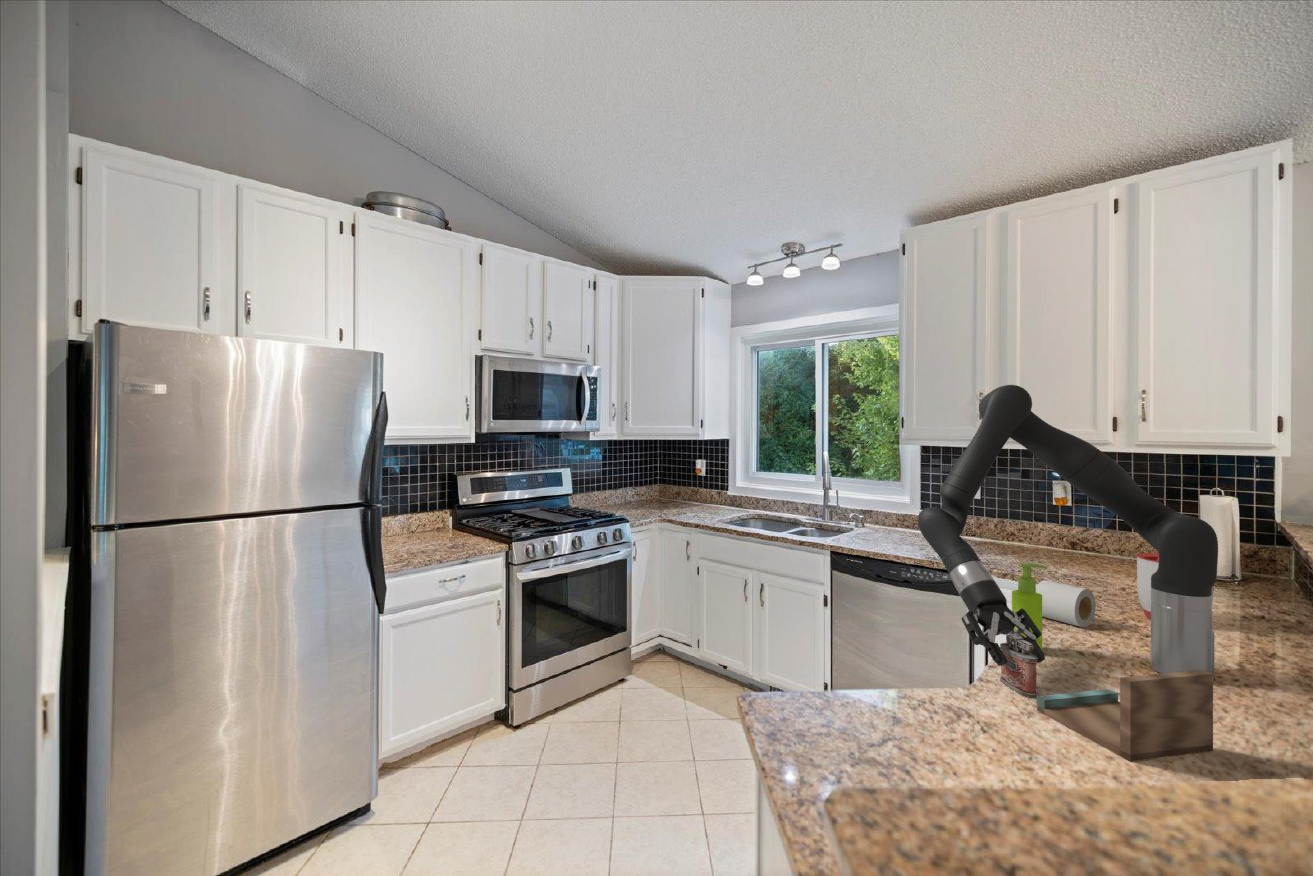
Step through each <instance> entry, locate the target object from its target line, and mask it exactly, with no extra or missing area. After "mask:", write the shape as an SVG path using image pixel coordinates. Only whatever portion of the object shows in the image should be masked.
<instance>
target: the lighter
mask: <svg viewBox="0 0 1313 876" xmlns="http://www.w3.org/2000/svg"><path fill="white" fill-rule="evenodd" d="M1005 640H1006V642H1002V643H1000V644H999V647H1000V648H1001V650H1002V652H1003V654H1004V655H1005V657H1006V659H1007V663H1006V664H1004V665H1003V666H1000V668H1001V669H1000V673H1001V674H1000V676H999V677H1000V678H999V682H1000V683H1001V682H1002V683H1003V684H1004V685H1005V687H1006V688H1007V687H1009V688H1010V689H1011V691H1012V692H1014V691H1015V692H1014V693H1015V694H1018V695H1019V696H1022V697H1024V696H1025V697H1024V698H1026V697H1028V698H1027V699H1031V698H1033V699H1034V698H1036V699H1037V696H1038V691H1037V663H1036V662H1038V657H1036V656H1035V655H1033V654H1032V653H1030V652H1028V651H1033V645H1032V644H1031V643H1029V642H1027V641H1025V640H1023V638H1022V637H1015V636H1013V635H1009V634H1007V635H1005ZM1002 683H1001V684H1002ZM1003 684H1002V685H1003ZM1004 685H1003V686H1004ZM1009 688H1008V689H1009ZM1010 689H1009V690H1010ZM1033 699H1032V700H1033ZM1034 700H1035V699H1034Z"/></svg>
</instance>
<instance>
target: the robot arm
mask: <svg viewBox="0 0 1313 876" xmlns="http://www.w3.org/2000/svg"><path fill="white" fill-rule="evenodd" d="M1032 407H1033V401H1032V397H1031V394H1030V393H1029V392H1028V390H1026V389H1025V388H1023V387H1022V386H1020V385H1015V384H1005V385H1001V386H999V387H996V388H995V389H992V390H991V391H990V392H987V394H985V395H984V396H983V397H982V399H980V402H979V404H978V411H979V414H980V418H982V420H981V422H980V424H979V426H978V428H977V431H976V432H975V434H974V436H973V437H972V439H971V440H970V442H969V444H968V445H967V446H966V447H965V449H964V451H963V452H961V454H960V456H959V458H958V459H957V460H956V462H955V463H954V465H953V466H952V468H951V470H950V471H949V473H948V475H947V477H946V478H945V480H944V481H943V484H942V486H941V488H940V490H939V496H940V497H941V499H942V504H941V507H940V508H939V507H937V506H928V507H925V508H924V509H923V510H922V509H921V511H920V512H919V514H918V517H917V527H918V529H919V531H920V533H921V535H922V537H923V538H924V539H925V540H926V542H927V543H928V544H929V545H930V547H931V548H932V549H933V551H934V552H935V553H936V554H937V556H938V557H939V558H940V560H941V562H942V564H943V566H944V567H945V569H946V571H947V573H948V575H949V576H950V577H951V578H950V579H951V581H952V583H953V585H954V587H955V589H956V591H957V592H958V595H959V596H960V598H961V600H962V602H963V603H964V605H965V606H966V608H967V610H968V611H967V612H966V613H965V614H964V615H963V616H962V617H961V621H962V623H963V626H964V627H965V630H966V631H967V634H968V635H969V637H970V639H971V641H972V643H973V644H974V646H978V645H980V646H983V648H986V650H987V652H988V654H989V656H990V657H991V659H992V661H993V663H996V665H997V666H999V667H1001V666H1003V665H1004V664H1006V663H1007V659H1006V657H1005V655H1004V654H1003V652H1002V650H1001V648H1000V644H999V643H998V642H996V636H1000V635H1004V636H1006V635H1013V636H1015V637H1022V638H1023V640H1025V641H1027V642H1029V643H1031V644H1032V645H1033V651H1028V652H1030V653H1032V654H1033V655H1035V656H1036V657H1038V662H1036V664H1038V663H1039V664H1040V663H1042V662H1043V661H1045V660H1046V656H1045V653H1044V652H1043V649H1042V650H1041V648H1040V647H1039V645H1038V644H1037V642H1036V639H1037V638H1038V637H1040V636H1041V635H1042V636H1043V633H1042V634H1041V632H1040V631H1039V629H1038V628H1037V626H1036V625H1035V624H1034V622H1033V621H1032V619H1031V618H1030V617H1029V615H1028V614H1027V612H1026V611H1025V610H1024V609H1020V610H1018V611H1015V612H1012V609H1010V608H1009V607H1008V602H1007V601H1008V600H1007V598H1006V597H1005V595H1004V593H1003V592H1002V590H1001V589H1000V588H1001V587H1000V586H999V585H998V584H997V582H996V580H995V579H994V577H993V575H992V573H990V572H989V569H988V568H987V567H986V566H985V565H984V563H983V562H982V561H981V559H980V558H979V556H978V554H977V553H976V551H975V550H974V548H973V547H972V545H971V544H969V543H968V542H967V541H966V540H965V539H963V537H961V535H962V533H963V532H964V529H965V527H966V523H967V520H968V516H969V512H970V508H971V505H972V502H973V500H974V499H975V498H976V495H977V494H978V492H979V491H980V488H981V487H982V485H983V483H984V481H985V479H986V477H987V475H988V473H989V471H990V470H991V468H992V466H993V464H994V463H995V461H996V459H997V457H998V456H999V454H1000V452H1001V451H1002V450H1003V448H1004V446H1005V445H1006V443H1007V442H1008V440H1009V439H1012V440H1014V442H1016V443H1018V444H1019V445H1021V446H1022V447H1024V448H1025V449H1026V450H1028V451H1029V452H1030V453H1031V454H1032V455H1033V456H1035V458H1037V459H1038V460H1039V461H1040V462H1042V463H1043V464H1044V465H1046V466H1047V467H1048V468H1049V469H1051V470H1052V471H1053V472H1055V473H1056V474H1057V475H1059V477H1061V479H1063V480H1065V481H1066V483H1067V482H1068V484H1069V485H1071V486H1073V487H1074V488H1075V489H1076V490H1078V491H1079V492H1081V493H1082V494H1084V495H1085V496H1087V497H1088V498H1090V499H1091V500H1093V501H1094V502H1096V503H1097V504H1098V505H1100V506H1102V507H1104V508H1105V509H1107V510H1109V511H1111V512H1112V513H1114V515H1116V516H1117V517H1119V518H1120V519H1121V520H1122V521H1124V522H1125V524H1127V525H1128V526H1129V527H1130V528H1131V529H1133V530H1134V531H1135V532H1136V533H1137V534H1138V535H1139V536H1140V537H1141V538H1142V539H1143V540H1145V541H1146V542H1147V544H1149V545H1150V546H1151V547H1152V548H1153V549H1155V550H1156V551H1158V554H1159V565H1158V569H1157V571H1156V572H1155V573H1153V574H1152V576H1151V618H1150V668H1151V669H1152V670H1154V671H1155V672H1157V673H1158V674H1163V673H1174V672H1185V671H1195V670H1204V671H1207V672H1209V673H1212V674H1213V678H1215V631H1214V630H1213V629H1212V628H1213V626H1212V625H1213V623H1212V622H1213V617H1212V616H1213V611H1212V609H1213V607H1212V606H1213V602H1212V587H1213V588H1214V586H1215V583H1216V581H1217V578H1218V564H1219V563H1218V561H1219V560H1218V559H1219V540H1218V536H1217V532H1216V531H1215V529H1214V528H1213V527H1212V526H1211V525H1210V523H1208V522H1206V521H1205V520H1203V519H1200V518H1198V517H1195V516H1191V515H1186V514H1183V513H1180V512H1178V511H1176V510H1174V509H1172V508H1170V507H1169V506H1167V505H1165V504H1163V503H1162V502H1161V501H1159V500H1157V499H1156V498H1154V497H1153V496H1152V495H1150V494H1149V493H1147V492H1146V491H1145V490H1144V489H1142V488H1141V486H1139V485H1138V483H1137V482H1136V481H1135V479H1134V478H1133V477H1132V476H1131V475H1130V474H1129V473H1128V472H1127V471H1126V470H1125V469H1124V468H1123V466H1121V465H1120V464H1119V463H1118V462H1117V461H1115V460H1114V459H1112V458H1111V457H1110V456H1109V455H1107V454H1106V453H1104V452H1103V451H1102V450H1100V449H1098V447H1096V446H1095V445H1093V444H1092V443H1089V442H1088V441H1086V440H1084V439H1082V438H1080V437H1077V436H1075V435H1073V434H1071V433H1069V432H1067V431H1063V430H1061V429H1059V428H1057V427H1055V426H1053V425H1052V424H1051V425H1050V424H1049V423H1047V422H1046V421H1045V420H1043V419H1042V418H1040V417H1039V416H1038V415H1037V414H1035V412H1033V411H1032ZM1015 626H1016V627H1017V628H1018V629H1016V630H1014V628H1015ZM981 627H982V628H981ZM1029 628H1031V630H1032V631H1033V633H1032V632H1031V631H1030V629H1029ZM1021 633H1022V634H1024V635H1025V636H1027V637H1024V636H1023V635H1022V634H1021Z"/></svg>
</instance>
